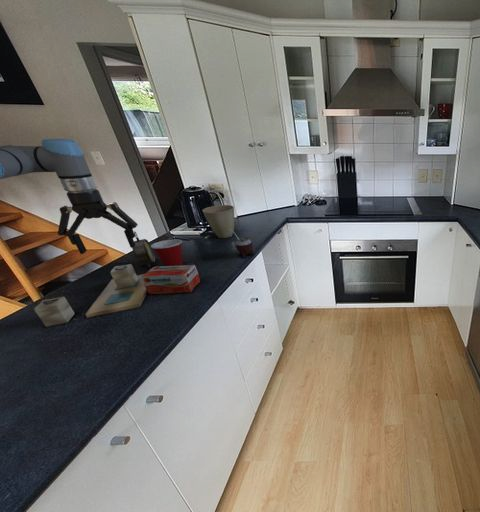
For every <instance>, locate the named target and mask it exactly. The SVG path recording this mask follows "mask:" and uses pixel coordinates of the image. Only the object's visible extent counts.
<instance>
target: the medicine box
mask: <svg viewBox="0 0 480 512" xmlns="http://www.w3.org/2000/svg"><path fill="white" fill-rule="evenodd" d="M143 274H144V275H143ZM143 274H142V275H143V276H141V277H142V279H143V282H144V285H145V287H146V289H147V291H148V292H147V294H149V295H160V294H161V295H163V294H164V295H165V294H184V293H192V292H193V290H194V289H195V287H196V286H198V285H199V283H200V282H201V277H200V274H199V272H198V269H197V266H196V265H195V264H187V265H185V264H183V266H165V265H162V266H161V265H160V266H153V267H151V269H149V270H148V271H146V272H145V273H143Z"/></svg>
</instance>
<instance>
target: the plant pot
mask: <svg viewBox="0 0 480 512" xmlns="http://www.w3.org/2000/svg"><path fill="white" fill-rule="evenodd" d="M201 211H202V213H203V215H204V217H205V219H206V221H207V223H208V225H209V226H210V228H211V230H212V231H213V233H214V234H215V235H216V236H217V238H218V239H227V238H231V237H232V236H233V235H234V234H233V232H235V231H234V229H235V206H233V205H230V204H228V205H227V204H220V205H211V206H208V207H205V208H203V209H202V210H201ZM227 229H229V230H232V231H233V232H231V231H229V230H227Z"/></svg>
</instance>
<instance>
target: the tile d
mask: <svg viewBox="0 0 480 512" xmlns="http://www.w3.org/2000/svg"><path fill="white" fill-rule="evenodd" d="M33 310H34V312H35V313H36V314H37V316H38V318H39V319H40V320H41V322H42V323H43V325H44V326H45V327H46V328H48V327H52V326H57V325H61V324H67V323H69V322H70V320H71V319H72V318H73V316H74V315H75V311H74V310H73V308H72V306H71V305H70V303H69V301H68V300H67V298H66V297H65V296H59V297H53V298H47V299H43V300H41V302H39V303H38V304H37V305H36V306H35V307H34V308H33Z"/></svg>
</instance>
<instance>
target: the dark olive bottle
mask: <svg viewBox="0 0 480 512" xmlns="http://www.w3.org/2000/svg"><path fill="white" fill-rule="evenodd" d="M133 231H134V230H133ZM134 234H135V237H134V238H135V240H134V242H135V246H134V247H133V248H131V249H132V253H133V256H134V258H135V259H136V261H137V263H139V264H140V265H141V266H142V267H143V266H146V265H148V269H149V270H151V269H152V267H151V264H154V263H155V262H156V256H155V251H154V249H153V248H152V247H151V245H152V244H151V243H150V242H149V240H148V239H146V238H143V239H140V238H139V237H138V233H137V232H136V230H135V231H134Z"/></svg>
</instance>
